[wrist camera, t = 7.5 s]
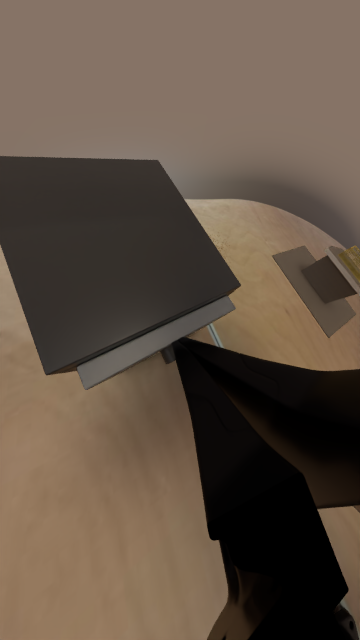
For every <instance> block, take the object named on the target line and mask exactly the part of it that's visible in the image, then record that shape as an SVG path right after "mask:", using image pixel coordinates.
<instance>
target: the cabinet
mask: <svg viewBox="0 0 360 640" xmlns="http://www.w3.org/2000/svg"><path fill="white" fill-rule="evenodd" d="M0 245H1V248H2V250H3V253H4V256H5V259H6V262H7V265H8V268H9V271H10V274H11V276H12V279H13V282H14V285H15V288H16V291H17V294H18V297H19V300H20V302H21V305H22V308H23V311H24V314H25V317H26V320H27V323H28V326H29V328H30V331H31V334H32V337H33V340H34V343H35V346H36V349H37V352H38V354H39V357H40V360H41V363H42V366H43V369H44V372H45V374H46V375H52V374H58V373H66V372H72V371H77V366H78V365H81V364H83V363H85V362H87V361H89V360H91V359H93V358H95V357H97V356H100V355H102V354H104V353H106V352H108V351H110V350H112V349H114V348H116V346H117V347H119V346H121V345H123V344H125V343H127V341H128V342H129V340H130V341H131V339H132V340H133V338H134V339H135V337H136V338H138V337H140V336H142V335H144V334H146V332H147V333H148V331H149V332H150V330H151V331H152V329H153V330H154V328H155V329H156V328H159V327H161V326H163V324H164V325H165V323H166V324H167V322H168V323H169V321H170V322H171V320H172V321H173V320H175V319H178V318H180V317H182V315H183V316H184V314H185V315H186V314H188V313H190V312H192V311H194V310H197V309H199V308H201V307H203V306H205V305H207V304H209V303H211V302H213V301H216V300H218V299H220V298H222V297H224V296H226V295H228V296H229V295H230V294H231V293H232V292H234V291H235V290H236V289H237V288H239V287H240V286H241V284H240V283H239V281H238V280H237V278H236V277H235V275H234V274H233V272H232V271H231V269H230V268H229V266H228V265H227V263H226V262H225V260H224V259H223V257H222V256H221V254H220V253H219V251H218V250H217V248H216V247H215V245H214V244H213V242H212V241H211V239H210V238H209V236H208V235H207V233H206V232H205V230H204V229H203V227H202V226H201V224H200V223H199V221H198V220H197V218H196V217H195V215H194V214H193V212H192V211H191V209H190V208H189V206H188V205H187V203H186V202H185V200H184V199H183V197H182V196H181V194H180V193H179V191H178V190H177V188H176V186H175V185H174V183H173V182H172V180H171V179H170V177H169V176H168V174H167V173H166V171H165V170H164V168H163V167H162V166H161V164H160V162H159V161H158V160H129V159H91V158H87V159H86V158H50V157H49V158H48V157H46V158H45V157H10V156H0ZM137 336H138V337H137ZM120 344H121V345H120ZM118 345H119V346H118Z"/></svg>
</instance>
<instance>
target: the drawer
mask: <svg viewBox="0 0 360 640" xmlns="http://www.w3.org/2000/svg"><path fill="white" fill-rule="evenodd" d="M235 309H236V308H235V306H234V304H233V303H232V301H231V300H230V298H229V297H228V295H226V296H224V297H222V298H220V299H218V300H216V301H213V302H211V303H209V304H207V305H205V306H203V307H201V308H199V309H197V310H194V311H192V312H190V313H188V314H186V315H185V314H184V316H183V315H182V317H180V318H178V319H175V320H173V321H172V320H171V322H170V321H169V323H168V322H167V324H166V323H165V325H164V324H163V326H161V327H159V328H156V329H155V328H154V330H153V329H152V331H151V330H150V332H149V331H148V333H147V332H146V334H144V335H142V336H140V337H138V336H137V337H138V338H136V337H135V339H134V338H133V340H132V339H131V341H130V340H129V342H128V341H127V343H125V344H123V345H121V344H120V345H121V346H119V345H118V346H119V347H117V346H116V348H114V349H112V350H110V351H108V352H106V353H104V354H102V355H100V356H97V357H95V358H93V359H91V360H89V361H87V362H85V363H83V364H81V365H78V366H77V371H78V373H79V376H80V378H81V381H82V384H83V386H84V389H85V390H88V389H90V388H92V387H94V386H96V385H98V384H100V383H102V382H104V381H106V380H108V379H110V378H112V377H114V376H116V375H118V374H120V373H122V372H123V371H125V370H127V369H129V368H131V367H133V366H134V365H136V364H138V363H140V362H142V361H144V360H145V359H147V358H149V357H151V356H153V355H154V354H156V353H158V352H161V354H162V356H163V358H164V360H165V362H166V364H169V363H171V362H173V361H175V356H174V352H173V349H172V345H171V343H172V342H173V341H175V340H178V339H179V338H181V337H187V336H189V335H191V334H193V333H195V332H196V331H198V330H200V329H202V328H203V327H205V326H207V325H209V324H210V323H212V322H214V321H216V320H217V319H219V318H221V317H223V316H224V315H226V314H228V313H230V312H231V311H233V310H235Z"/></svg>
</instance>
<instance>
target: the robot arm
mask: <svg viewBox="0 0 360 640" xmlns="http://www.w3.org/2000/svg"><path fill="white" fill-rule="evenodd" d="M171 345H172V349H173V352H174V356H175V360H176V363H177V367H178V370H179V374H180V378H181V381H182V385H183V388H184V392H185V396H186V400H187V403H188V407H189V412H190V416H191V421H192V427H193V432H194V439H195V446H196V452H197V459H198V465H199V472H200V479H201V485H202V492H203V499H204V506H205V513H206V521H207V528H208V532H209V537H210V539H211V540H219V542H220V548H221V553H222V558H223V563H224V568H225V573H226V578H227V583H228V600H227V603H226V605H225V607H224V609H223V611H222V612H221V614H220V615H219V617H218V619H217V621H216V622H215V624H214V626H213V628H212V630H211V632H210V634H209V636H208V638H207V640H359V638H358V633H357V629H356V625H355V622H354V619H353V617H352V616H351V615H350V614H349V612H348V611H347V610H346V609H345V608H342V609H341V610H339V611H338V612H336V613H333V610H334V609H335V608H336V606H337V605H338V604H339V603H340V601H341V600H342V599H343V597H344V596H345V595H346V594H347V592H348V590H349V589H348V586H347V584H346V581H345V579H344V577H343V574H342V572H341V569H340V567H339V564H338V561H337V559H336V556H335V554H334V551H333V549H332V546H331V543H330V541H329V538H328V536H327V533H326V531H325V528H324V525H323V523H322V520H321V518H320V515H319V513H318V510H317V509H323V508H335V507H347V506H353V507H354V508H355V509H356V510H357V511H358V512H359V513H360V369H355V370H342V371H317V370H310V369H305V368H300V367H295V366H291V365H286V364H281V363H277V362H272V361H268V360H263V359H259V358H255V357H252V356H248V355H244V354H241V353H240V354H239V353H237V352H234V351H231V350H227V349H224V348H220V347H217V346H214V345H210V344H207V343H203V342H200V341H196V340H193V339H190V338H186V337H181V338H179V339H178V340H175V341H173V342H172V343H171Z"/></svg>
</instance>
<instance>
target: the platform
mask: <svg viewBox="0 0 360 640" xmlns="http://www.w3.org/2000/svg"><path fill="white" fill-rule="evenodd" d="M354 247H356V246H354ZM354 247H351V248H349V249H348V250H346V251H344V250H343V249H341V248H337V247H333V246H331V247H328V248H327V249H325V252H326V254H327V256H325V257H324V258H322V259H320V260H318V261H316V260H315V259H314V257H313V256H312V255H311V253H310V252H309V251H308V249H307V248H306V247H305V246H301V247H298V248H295V249H292V250H289V251H285V252H282V253H279V254H276V255H273V258H274V259H275V261H276V262H277V264H278V265H279V266H280V268H281V269H282V271H283V272H284V274H285V275H286V277H287V278H288V279H289V281H290V282H291V284H292V285H293V287H294V288H295V290H296V291H297V293H298V294H299V295H300V297H301V298H302V300H303V301H304V303H305V304H306V306H307V307H308V308H309V310H310V311H311V313H312V314H313V316H314V317H315V319H316V320H317V321H318V323H319V324H320V326H321V327H322V329H323V330H324V332H325V333H326V335H327V336H328V337H330V336H332V335H333V334H334V333H335V332H336V331H337V330H339V329H340V328H341V327H342V326H343V325H344V324H346V323H347V322H348V321H349V320H350V319H351V318H353V317H354V316H355V315H356V313H355V311H354V310H353V309H352V308H351V306H350V305H349V304H348V302H347V301H346V300H345V297H348V296H351V295H355V294H358V295H359V296H360V269H359V267H358V266H357V264H358V265H359V266H360V264H359V263H360V262H358V261H360V260H358V259H360V257H359V256H360V255H359V256H358V255H357V254H356V253H355V251H354V250H353V248H354ZM356 248H357V247H356ZM351 249H352V250H353V252H354V253H355V254H356V256H357V258H358V259H357V258H356V257H355V255H354V254H353V252H352V250H351ZM357 249H358V248H357ZM349 250H350V251H351V253H352V254H353V255H354V257H355V259H356V260H358V261H357V262H358V263H357V262H355V261H356V260H355V259H354V258H353V256H352V255H351V253H350V251H349ZM347 251H348V252H349V253H350V255H351V256H352V258H353V260H354V261H353V260H352V259H351V257H350V256H349V254H348V252H347ZM356 251H357V250H356ZM358 251H359V252H360V250H358ZM346 253H347V254H348V255H347V254H346ZM354 262H355V263H357V264H355V263H354Z"/></svg>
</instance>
